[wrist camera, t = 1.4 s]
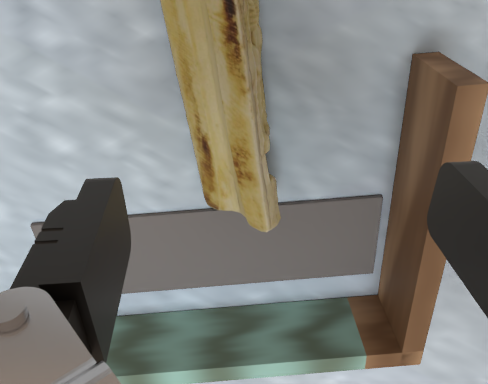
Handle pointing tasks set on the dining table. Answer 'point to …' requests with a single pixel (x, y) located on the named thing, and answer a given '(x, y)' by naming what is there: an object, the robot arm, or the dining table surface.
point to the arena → (338, 309)
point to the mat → (251, 245)
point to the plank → (225, 103)
